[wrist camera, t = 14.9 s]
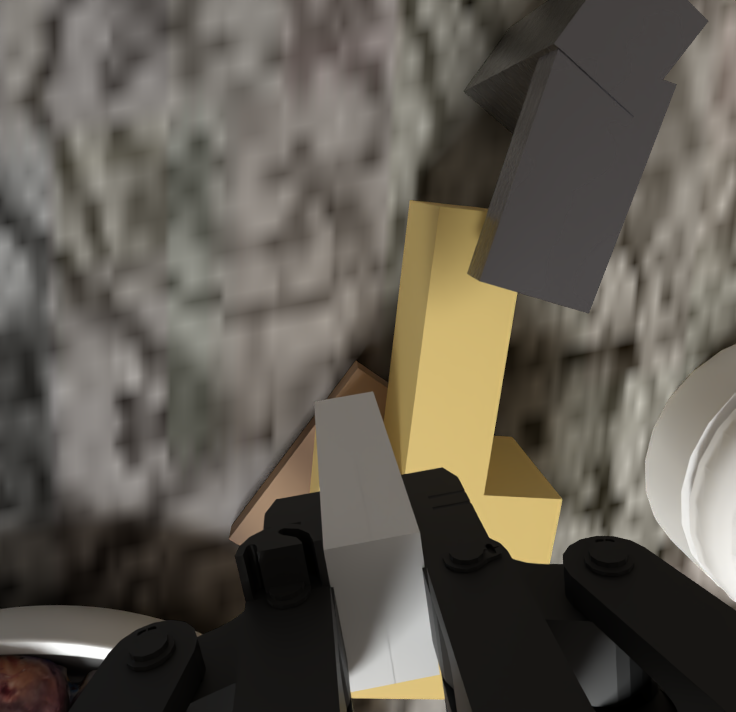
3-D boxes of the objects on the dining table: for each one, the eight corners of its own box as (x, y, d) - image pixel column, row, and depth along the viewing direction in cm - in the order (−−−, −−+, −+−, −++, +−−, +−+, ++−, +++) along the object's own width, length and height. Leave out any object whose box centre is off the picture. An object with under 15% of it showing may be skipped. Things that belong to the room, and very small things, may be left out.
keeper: (509, 27, 26) (629, -59, 17) (609, 118, 27) (773, 86, 18) (375, 212, 28) (415, 231, 18) (477, 289, 29) (563, 345, 19)
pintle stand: (355, 360, 29) (376, 432, 21) (520, 473, 32) (597, 578, 23) (231, 525, 31) (205, 653, 23) (397, 621, 33) (428, 769, 25)
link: (482, 605, 32) (522, 700, 26) (300, 600, 31) (299, 697, 25) (550, 214, 27) (617, 225, 21) (336, 192, 26) (346, 196, 20)
